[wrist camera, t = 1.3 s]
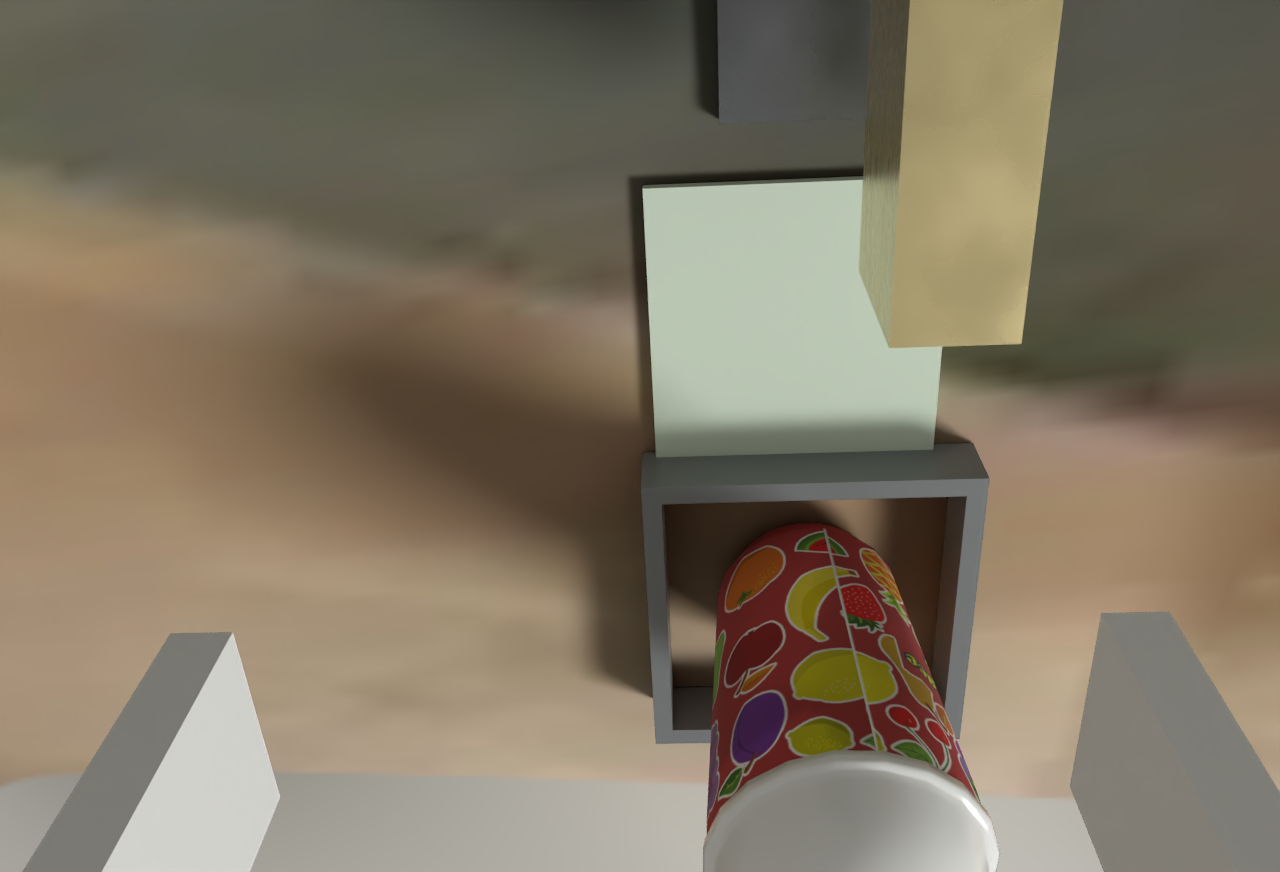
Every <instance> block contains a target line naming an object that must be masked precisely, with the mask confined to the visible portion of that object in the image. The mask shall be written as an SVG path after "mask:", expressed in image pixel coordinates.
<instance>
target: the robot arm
mask: <svg viewBox="0 0 1280 872" xmlns="http://www.w3.org/2000/svg"><path fill="white" fill-rule="evenodd" d="M1070 788H1071V790H1072V793H1073V795H1074V798H1075V800H1076V803H1077V805H1078V808H1079V810H1080V813H1081V815H1082V818H1083V820H1084V823H1085V825H1086V828H1087V830H1088V833H1089V835H1090V838H1091V840H1092V843H1093V845H1094V848H1095V850H1096V853H1097V855H1098V858H1099V860H1100V863H1101V865H1102V868H1103V870H1104V872H1280V792H1279V790H1278V789H1277V787H1276V785H1275V784H1274V782H1273V781H1272V779H1271V777H1270V776H1269V774H1268V772H1267V771H1266V769H1265V767H1264V766H1263V764H1262V763H1261V761H1260V759H1259V758H1258V756H1257V754H1256V753H1255V751H1254V749H1253V748H1252V746H1251V745H1250V743H1249V741H1248V740H1247V738H1246V736H1245V735H1244V733H1243V731H1242V730H1241V728H1240V727H1239V725H1238V723H1237V722H1236V720H1235V718H1234V717H1233V715H1232V713H1231V712H1230V710H1229V709H1228V707H1227V705H1226V704H1225V702H1224V700H1223V699H1222V697H1221V695H1220V694H1219V692H1218V691H1217V689H1216V687H1215V686H1214V684H1213V682H1212V681H1211V679H1210V677H1209V676H1208V674H1207V672H1206V671H1205V669H1204V668H1203V666H1202V664H1201V663H1200V661H1199V659H1198V658H1197V656H1196V654H1195V653H1194V651H1193V650H1192V648H1191V646H1190V645H1189V643H1188V641H1187V640H1186V638H1185V636H1184V635H1183V633H1182V632H1181V630H1180V628H1179V627H1178V625H1177V623H1176V622H1175V620H1174V618H1173V617H1172V615H1171V614H1170V612H1129V613H1101V618H1100V623H1099V629H1098V634H1097V640H1096V645H1095V651H1094V656H1093V662H1092V667H1091V673H1090V678H1089V684H1088V689H1087V695H1086V700H1085V706H1084V711H1083V717H1082V722H1081V728H1080V733H1079V739H1078V744H1077V750H1076V755H1075V761H1074V766H1073V772H1072V777H1071V783H1070ZM279 799H280V795H279V791H278V788H277V785H276V781H275V777H274V774H273V771H272V767H271V764H270V760H269V757H268V753H267V750H266V746H265V743H264V739H263V736H262V732H261V729H260V725H259V722H258V718H257V715H256V711H255V708H254V705H253V701H252V698H251V694H250V691H249V687H248V684H247V680H246V677H245V673H244V670H243V666H242V663H241V659H240V656H239V652H238V649H237V645H236V642H235V639H234V635H233V632H217V633H171V634H170V635H169V637H168V638H167V640H166V642H165V643H164V645H163V646H162V648H161V650H160V651H159V653H158V654H157V656H156V658H155V659H154V661H153V662H152V664H151V666H150V667H149V669H148V670H147V672H146V674H145V675H144V677H143V679H142V680H141V682H140V683H139V685H138V687H137V688H136V690H135V691H134V693H133V695H132V696H131V698H130V699H129V701H128V703H127V704H126V706H125V708H124V709H123V711H122V712H121V714H120V716H119V717H118V719H117V720H116V722H115V724H114V725H113V727H112V728H111V730H110V732H109V733H108V735H107V736H106V738H105V740H104V741H103V743H102V745H101V746H100V748H99V749H98V751H97V753H96V754H95V756H94V757H93V759H92V761H91V762H90V764H89V765H88V767H87V769H86V770H85V772H84V774H83V775H82V777H81V778H80V780H79V782H78V783H77V785H76V786H75V788H74V790H73V791H72V793H71V794H70V796H69V798H68V799H67V801H66V802H65V804H64V806H63V807H62V809H61V811H60V812H59V814H58V815H57V817H56V819H55V820H54V822H53V824H52V825H51V827H50V828H49V830H48V831H47V833H46V835H45V837H44V838H43V839H42V841H41V843H40V844H39V846H38V848H37V849H36V851H35V852H34V854H33V856H32V857H31V859H30V860H29V862H28V864H27V865H26V867H25V868H24V870H23V872H250V870H251V868H252V865H253V863H254V860H255V858H256V855H257V853H258V850H259V848H260V845H261V843H262V841H263V838H264V836H265V833H266V831H267V828H268V826H269V823H270V821H271V818H272V816H273V814H274V811H275V809H276V806H277V804H278V801H279Z"/></svg>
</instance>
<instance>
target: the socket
mask: <svg viewBox="0 0 1280 872" xmlns="http://www.w3.org/2000/svg"><path fill="white" fill-rule="evenodd" d="M988 486H989V476H988V474H987V472H986V470H985V468H984V466H983V464H982V461H981V459H980V457H979V455H978V453H977V451H976V449H975V446H974V444H973V443H954V444H934V446H933V450H901V451H865V452H830V453H795V454H760V455H725V456H689V457H656V452H643V457H642V474H641V501H642V518H643V535H644V552H645V569H646V586H647V603H648V620H649V637H650V653H651V670H652V687H653V704H654V721H655V738H656V744H668V743H711V727H712V708H713V688H714V687H679V688H673V676H672V655H671V634H670V614H669V593H668V572H667V551H666V530H665V509H664V504H693V503H731V502H769V501H807V500H845V499H883V498H921V497H948V505H947V515H946V526H945V536H944V547H943V557H942V568H941V578H940V589H939V599H938V610H937V620H936V631H935V641H934V652H933V662H932V673H931V675H932V678H933V680H934V683H935V686H936V688H937V691H938V693H939V696H940V698H941V701H942V704H943V706H944V709H945V711H946V714H947V716H948V719H949V721H950V724H951V727H952V729H953V732H954V734H955V737H956V739H960V730H961V722H962V713H963V704H964V696H965V687H966V678H967V669H968V661H969V652H970V643H971V635H972V626H973V617H974V608H975V600H976V591H977V582H978V574H979V565H980V556H981V547H982V539H983V530H984V521H985V513H986V504H987V495H988Z"/></svg>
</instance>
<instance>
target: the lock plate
mask: <svg viewBox="0 0 1280 872" xmlns="http://www.w3.org/2000/svg"><path fill="white" fill-rule="evenodd" d="M870 9H871V0H717V46H718V105H719V124H738V123H761V122H784V121H807V120H830V119H853V118H866V98H867V76H868V54H869V32H870Z"/></svg>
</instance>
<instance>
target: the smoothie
mask: <svg viewBox="0 0 1280 872" xmlns="http://www.w3.org/2000/svg"><path fill="white" fill-rule="evenodd" d="M999 855H1000V849H999V846H998V842H997V838H996V835H995V831H994V828H993V824H992V821H991V818H990V816H989V814H988V813H987V811H986V809H985V808H984V807H983V806H982V805H981V803H980V800H979V797H978V794H977V791H976V788H975V786H974V783H973V780H972V778H971V775H970V773H969V770H968V768H967V765H966V763H965V760H964V757H963V755H962V752H961V750H960V747H959V745H958V742H957V739H956V737H955V734H954V732H953V729H952V727H951V724H950V721H949V719H948V716H947V714H946V711H945V709H944V706H943V704H942V701H941V698H940V696H939V693H938V691H937V688H936V686H935V683H934V680H933V678H932V675H931V673H930V670H929V668H928V665H927V663H926V660H925V657H924V655H923V652H922V650H921V647H920V645H919V642H918V639H917V637H916V634H915V632H914V629H913V627H912V624H911V621H910V619H909V616H908V614H907V611H906V609H905V606H904V604H903V601H902V598H901V596H900V593H899V591H898V588H897V586H896V583H895V580H894V578H893V575H892V573H891V570H890V567H889V566H888V565H887V564H886V562H885V561H884V560H883V559H882V558H881V557H880V555H879V554H878V553H877V552H876V551H875V549H874V548H872V547H870V546H869V545H867V544H865V543H863V542H862V541H860V540H858V539H857V538H855V537H854V536H852V535H850V534H849V533H847V532H845V531H843V530H842V529H840V528H837V527H833V526H829V525H825V524H821V523H792V524H789V525H786V526H782V527H779V528H775V529H772V530H770V531H768V532H766V533H765V534H763V535H762V536H760V537H759V538H757V539H756V540H754V541H752V542H751V543H750V544H749V546H748V547H747V548H746V549H745V550H744V551H743V553H742V554H741V555H740V556H739V557H738V558H737V560H736V561H735V562H734V563H733V564H732V565H731V567H730V568H729V569H728V570H727V571H726V573H725V576H724V579H723V582H722V584H721V587H720V590H719V592H718V608H717V628H716V648H715V668H714V688H713V708H712V727H711V747H710V767H709V787H708V808H707V836H706V838H705V841H704V847H703V872H996V871H997V865H998V860H999Z"/></svg>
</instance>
